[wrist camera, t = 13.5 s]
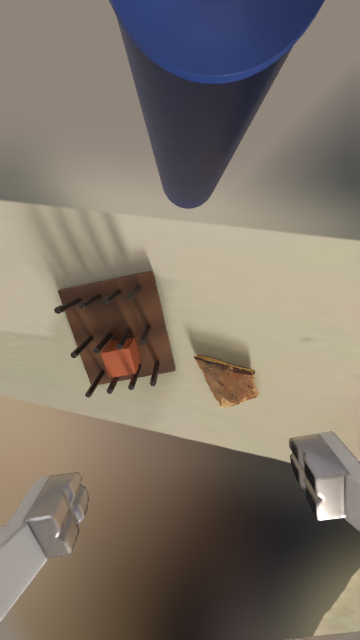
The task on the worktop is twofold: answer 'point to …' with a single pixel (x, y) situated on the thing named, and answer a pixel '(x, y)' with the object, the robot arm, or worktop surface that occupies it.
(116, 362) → the block
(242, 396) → the shard
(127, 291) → the dish rack
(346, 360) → the worktop surface
